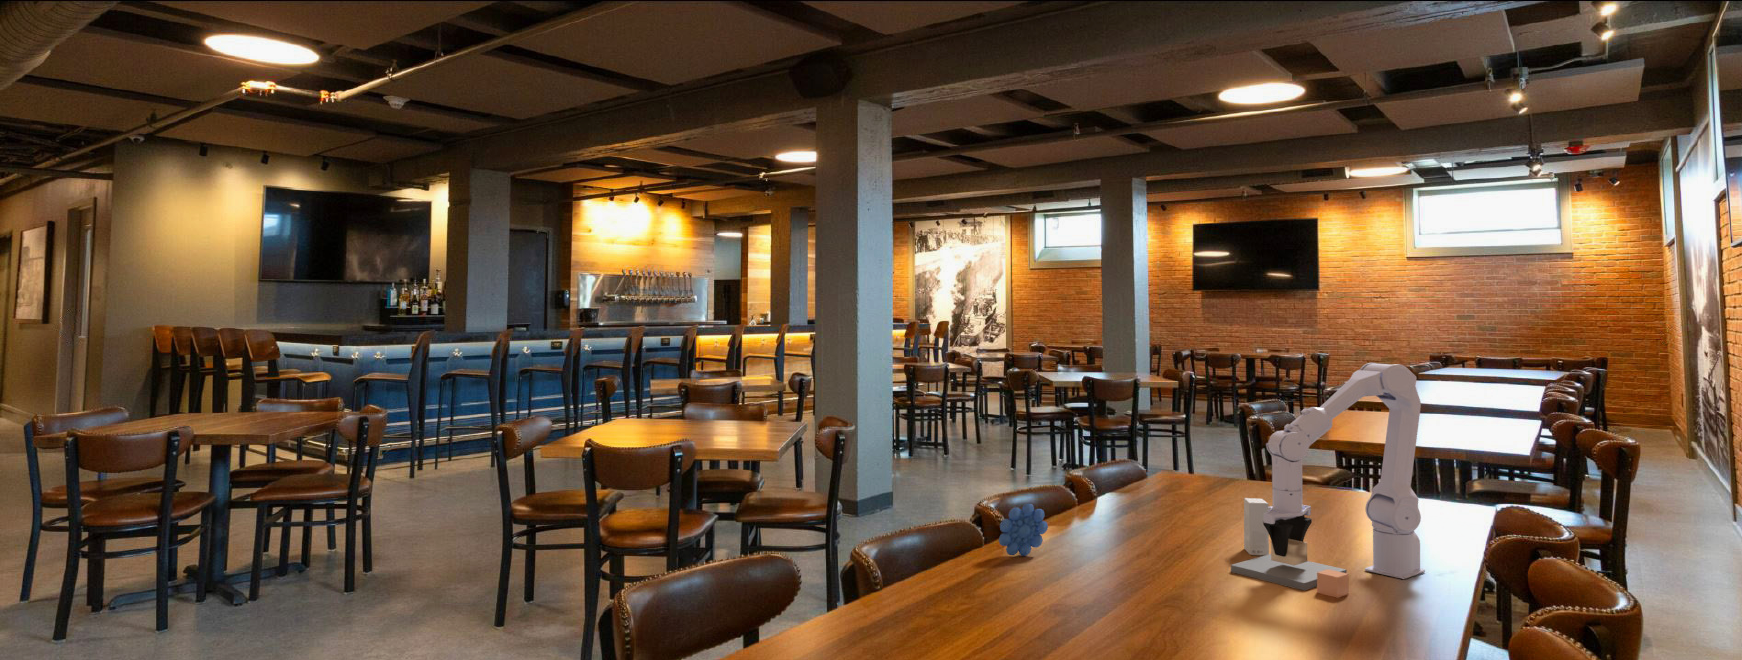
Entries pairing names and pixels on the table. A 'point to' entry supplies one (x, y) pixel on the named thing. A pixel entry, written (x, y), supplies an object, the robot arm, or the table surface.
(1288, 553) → the birch block
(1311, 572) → the base board
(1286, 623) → the table surface
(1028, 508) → the blue bead flower
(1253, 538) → the skincare box
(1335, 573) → the terracotta cube
